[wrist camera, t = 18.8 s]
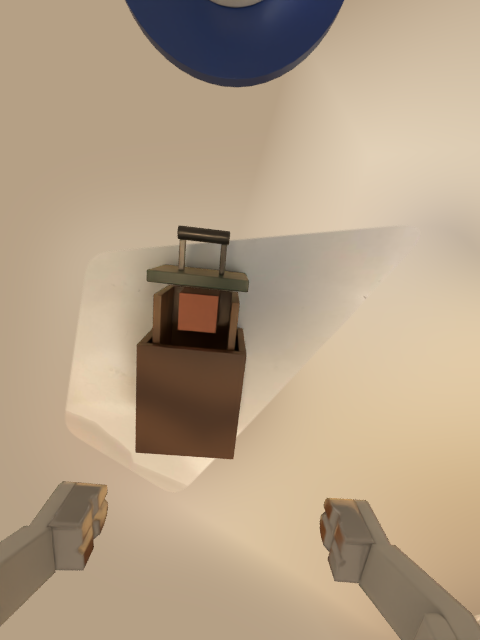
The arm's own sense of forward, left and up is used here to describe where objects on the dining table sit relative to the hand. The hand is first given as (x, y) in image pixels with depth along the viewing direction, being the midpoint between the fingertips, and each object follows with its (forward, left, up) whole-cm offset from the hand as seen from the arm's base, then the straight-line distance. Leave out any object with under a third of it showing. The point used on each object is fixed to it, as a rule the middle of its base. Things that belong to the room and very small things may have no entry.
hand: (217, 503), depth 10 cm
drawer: (-2, -3, -28) cm, 28 cm away
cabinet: (+9, -3, -29) cm, 30 cm away
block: (-1, -3, -27) cm, 27 cm away
